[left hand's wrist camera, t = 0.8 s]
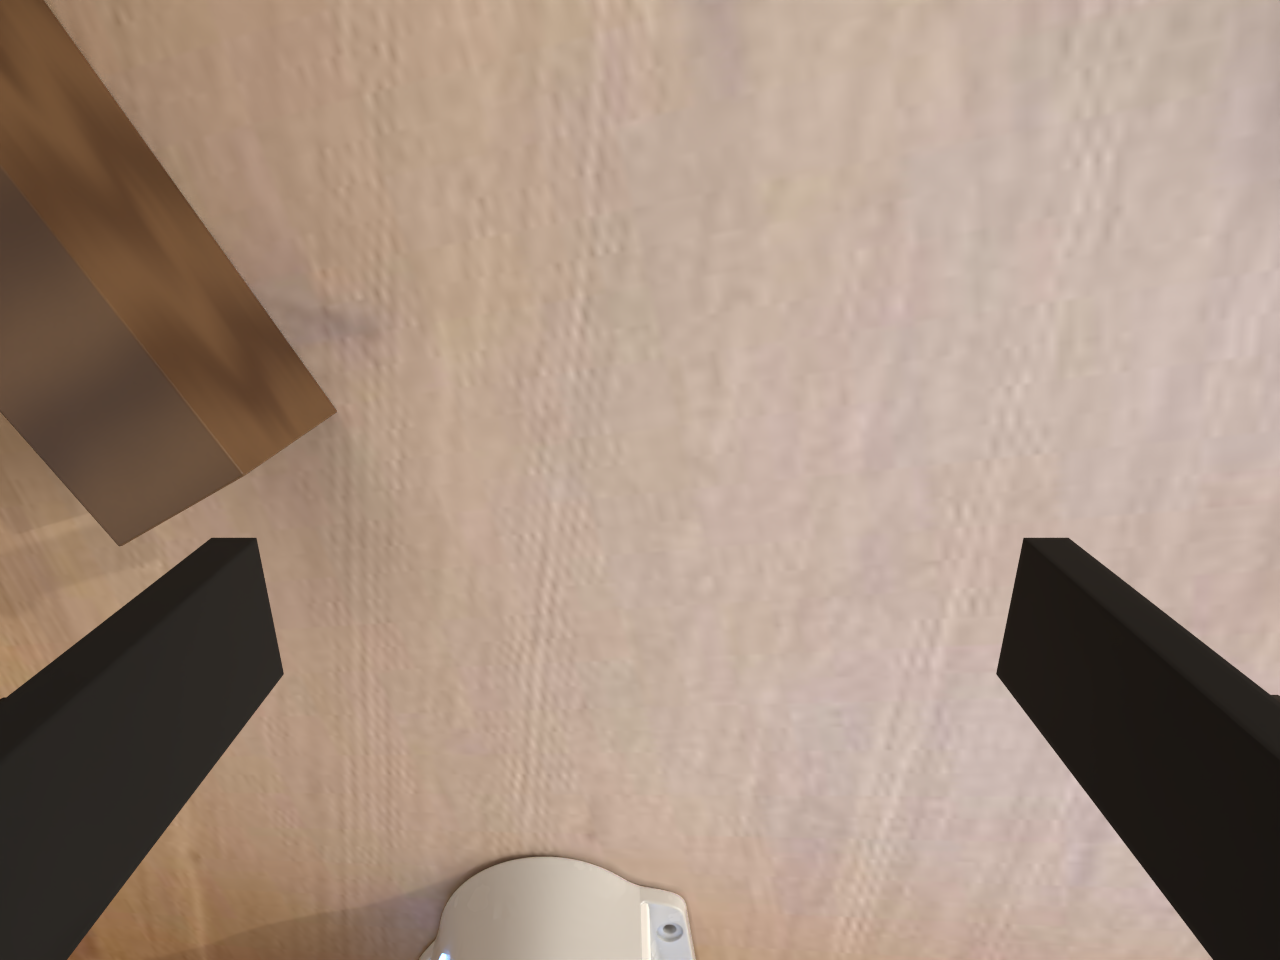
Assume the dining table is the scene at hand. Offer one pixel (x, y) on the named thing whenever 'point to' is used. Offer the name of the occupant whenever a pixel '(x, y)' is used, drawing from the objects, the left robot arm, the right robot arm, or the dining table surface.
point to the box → (123, 304)
